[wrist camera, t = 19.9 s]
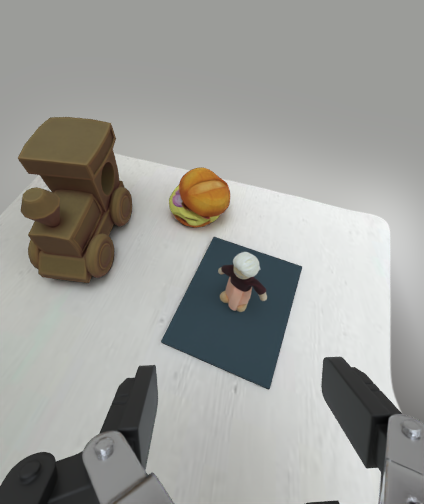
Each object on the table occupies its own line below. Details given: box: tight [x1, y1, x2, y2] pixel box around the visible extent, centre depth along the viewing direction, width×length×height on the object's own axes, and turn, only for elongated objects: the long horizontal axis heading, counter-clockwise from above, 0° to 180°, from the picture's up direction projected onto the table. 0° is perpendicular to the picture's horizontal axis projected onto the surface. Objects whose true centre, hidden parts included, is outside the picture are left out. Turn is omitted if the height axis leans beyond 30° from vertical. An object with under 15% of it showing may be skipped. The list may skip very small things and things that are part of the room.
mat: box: [161, 237, 302, 389], centre depth 43 cm, size 16×20×1 cm
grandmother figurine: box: [218, 252, 267, 312], centre depth 37 cm, size 8×4×13 cm, turn 65°
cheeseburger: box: [169, 168, 230, 228], centre depth 50 cm, size 10×11×10 cm
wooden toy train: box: [18, 117, 132, 283], centre depth 43 cm, size 20×11×17 cm, turn 172°
